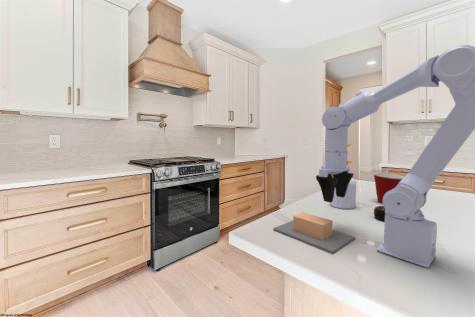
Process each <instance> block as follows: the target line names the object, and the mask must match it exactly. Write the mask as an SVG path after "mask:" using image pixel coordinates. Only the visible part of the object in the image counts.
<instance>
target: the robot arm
mask: <svg viewBox="0 0 475 317" xmlns="http://www.w3.org/2000/svg"><path fill="white" fill-rule="evenodd" d="M439 82H441V83H442V84H444V85H445V87H447V88H448V89H449V90H448V91H449V93H450V95H451V97H452V99H453V101H454V103H455V104H454V106H453V108H451V110H450V112H449V113H448V115H447V116H446V118H445V119H444V121H443V122H442V123H441V125H440V126H439V128H438V129H437V131H436V132H435V133H434V135H433V137H432V138H431V139H430V141H429V143H428V144H427V145H426V146H425V148H424V149H423V151H422V152H421V153H420V155H419V156H418V158H417V159H416V161H415V162H414V164H413V165H412V167H411V168H410V169H409V171H408V172H407V173H406V174H405V175H404V176H403V177H404V178H403V179H402V180H401V181H400V182H399V183H398V185H397V186H396V187H395V188H394V189H392V190H390V191H388V192H387V193H386V194H385V195H384V197H383V204H382V206H384V208H385V220H384V226H383V227H384V228H383V230H384V231H383V243H381V244H380V245H379V246H378V247H377V248H376V251H377V252H379V253H382V254H386V255H388V256H391V257H394V258H397V259H401V260H403V261H406V262H409V263H412V264H416V265H418V266H421V267H424V268H429V267H430V266H431V264H432V263H433V261H434V259H435V257H436V255H437V254H436V252H437V249H436V247H437V232H438V224H437V222H435V221H433V220H429V219H426V218H425V214H424V212H422V210H421V209H422V208H423V207H424V206H425V205H426V202H427V194H428V192H429V191H430V189H432V186H433V185H434V183H435V182H436V180H437V179H438V178H439V176H440V175H441V174H442V172H443V171H444V169H445V168H446V167H447V166H448V164H449V163H450V162H451V161H452V159H453V157H455V155H456V154H457V153H458V152H459V150H460V149H461V148H462V146H464V143H465V142H466V141H467V140H468V139H469V137H470V136H471V135H472V133H473V132H474V131H475V46H474V45H469V44H461V45H460V44H459V45H456V46H455V45H454V46H453V47H449V48H448V49H447V50H444V51H443V52H442V53H441V54H440V55H438V54H436V55H434V56H432V57H429V58H428V59H427V60H425V61H423V62H421V64H419V65H417V66H416V67H415V68H412V69H411V70H409V71H407V72H406V73H404V74H402V75H400V76H399V77H398V78H396V79H394V80H393V81H391V82H389V83H387V84H386V85H384V86H383V87H380V88H379V89H377V90H375V91H374V92H372V91H366V90H365V91H363V92H361V91H359V92H357V93H355V97H353V98H351V99H349V100H347V101H346V102H340V103H339V104H338V107H336V106H331V107H329V108H328V109H326V110H325V111H324V112H323V114H322V116H321V123H322V125H323V126H324V127H325V138H324V139H325V140H324V165H322V166H320V168H319V169H318V174H317V175H316V176H315V179H316V181H317V183H318V185H319V187H320V190H321V195H322V198H323V201H324V202H326V203H329V204H330V203H331V202H332V201H333V197H334V190H335V188H336V195H337V197H343V198H344V197H345V194H346V191H347V187H348V184H349V182H350V180H351V179H352V178H354V173H353V172H351V171H350V170H351V165H349V164H348V165H347V161H348V146H347V144H348V135H349V134H348V133H349V132H348V131H349V130H348V129H349V127H350V126H351V125H352V124H354V123H355V122H357V121H360V120H361V119H363V118H366V117H368V116H371V115H373V114H374V113H376V112H377V111H379V108H380V106H381V105H382V104H384V103H386V102H389V101H390V100H393V99H396V98H398V97H400V96H402V95H405V94H406V93H409V92H410V91H413V90H415V89H418V88H421V87H422V88H426V87H427V88H439V87H440V83H439Z"/></svg>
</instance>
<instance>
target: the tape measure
mask: <svg viewBox="0 0 475 317" xmlns="http://www.w3.org/2000/svg"><path fill="white" fill-rule="evenodd" d="M373 216H374V217H375V218H376V219H378V220H381V221H385V208H384V206H383V205H377V206H375V207H374V209H373Z"/></svg>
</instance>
